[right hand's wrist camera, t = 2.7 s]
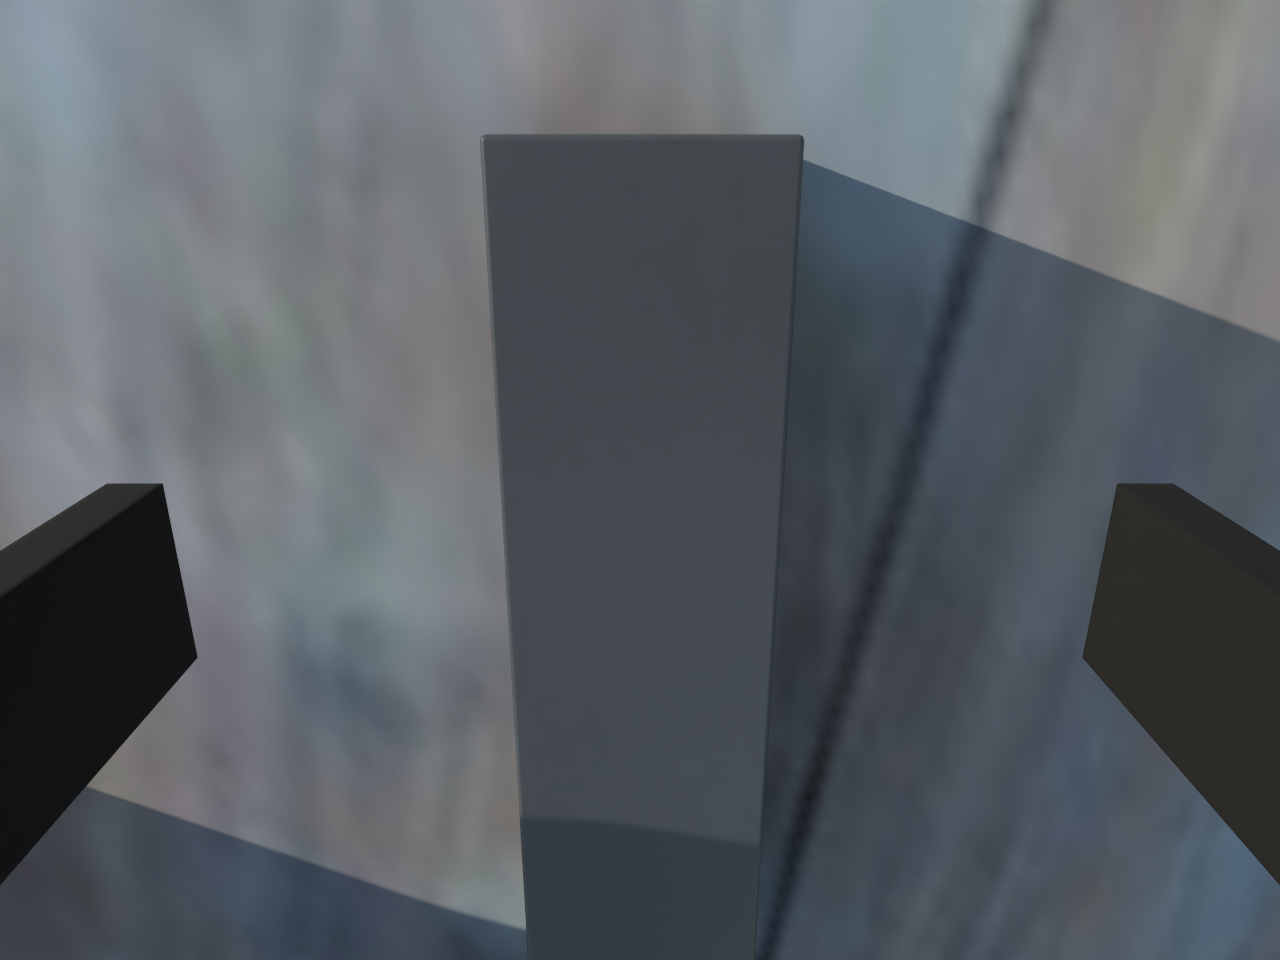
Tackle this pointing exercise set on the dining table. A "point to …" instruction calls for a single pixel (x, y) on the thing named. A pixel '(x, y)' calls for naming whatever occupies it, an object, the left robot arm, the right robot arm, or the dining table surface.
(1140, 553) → the right robot arm
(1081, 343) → the dining table surface
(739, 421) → the beam
